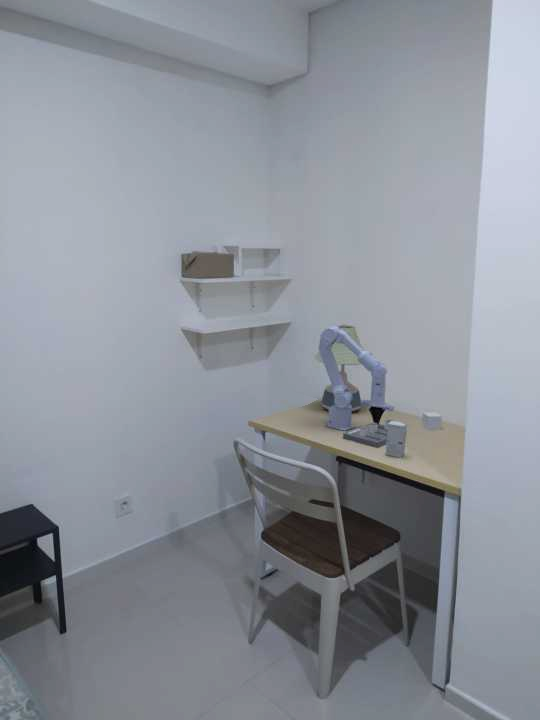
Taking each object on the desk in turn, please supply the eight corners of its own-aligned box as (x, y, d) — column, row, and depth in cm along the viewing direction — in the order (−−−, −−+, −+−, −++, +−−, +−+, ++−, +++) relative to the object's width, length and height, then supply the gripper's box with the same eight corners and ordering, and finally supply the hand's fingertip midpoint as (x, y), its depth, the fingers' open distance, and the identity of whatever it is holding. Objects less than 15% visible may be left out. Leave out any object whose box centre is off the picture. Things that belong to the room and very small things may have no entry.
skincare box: (385, 455, 204) (386, 423, 202) (389, 451, 207) (390, 420, 205) (401, 458, 201) (403, 426, 199) (405, 454, 204) (407, 423, 202)
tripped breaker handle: (384, 429, 228) (385, 421, 227) (388, 427, 230) (389, 419, 229) (388, 430, 226) (389, 422, 226) (392, 428, 229) (393, 420, 228)
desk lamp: (301, 408, 266) (303, 323, 259) (340, 399, 285) (343, 319, 278) (342, 420, 248) (346, 328, 240) (380, 410, 266) (385, 324, 259)
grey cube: (427, 430, 236) (428, 416, 235) (422, 426, 242) (422, 412, 241) (441, 429, 237) (442, 416, 236) (435, 425, 242) (435, 412, 241)
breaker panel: (343, 438, 222) (343, 425, 221) (373, 427, 238) (373, 415, 237) (377, 447, 212) (378, 434, 211) (406, 435, 227) (407, 422, 226)
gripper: (357, 391, 232) (356, 422, 234) (388, 397, 222) (386, 430, 224) (367, 388, 237) (365, 419, 239) (397, 394, 227) (395, 426, 229)
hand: (376, 424), depth 232 cm, fingers closed
